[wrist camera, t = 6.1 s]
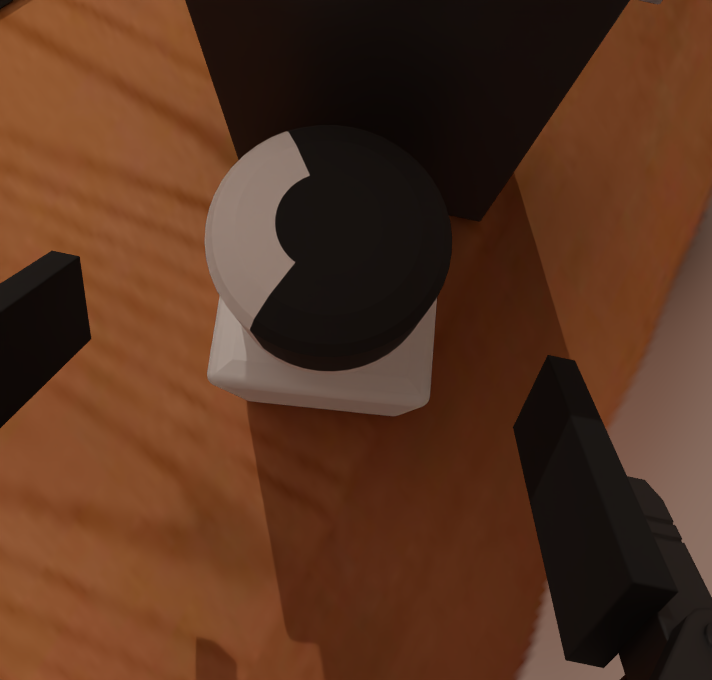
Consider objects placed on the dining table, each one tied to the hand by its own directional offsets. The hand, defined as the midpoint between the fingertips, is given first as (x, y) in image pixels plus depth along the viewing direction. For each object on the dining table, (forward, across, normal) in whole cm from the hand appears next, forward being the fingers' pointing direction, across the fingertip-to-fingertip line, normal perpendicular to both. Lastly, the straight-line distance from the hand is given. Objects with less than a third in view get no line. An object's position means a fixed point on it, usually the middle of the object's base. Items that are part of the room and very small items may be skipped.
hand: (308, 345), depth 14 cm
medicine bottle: (+8, 0, -5) cm, 9 cm away
